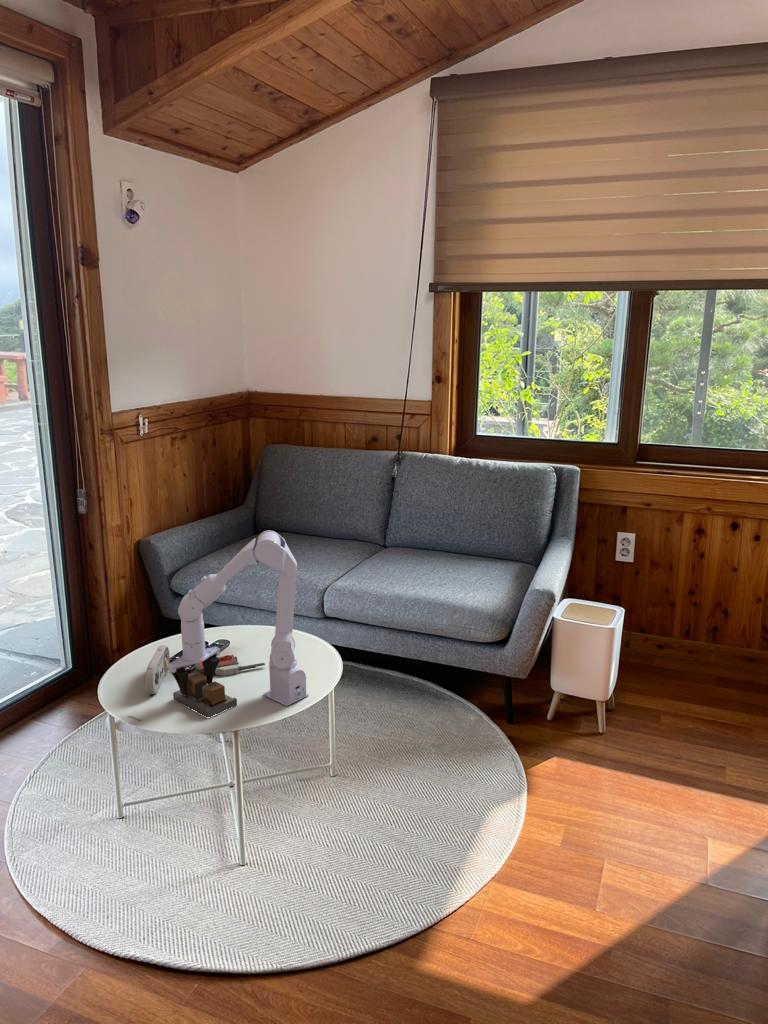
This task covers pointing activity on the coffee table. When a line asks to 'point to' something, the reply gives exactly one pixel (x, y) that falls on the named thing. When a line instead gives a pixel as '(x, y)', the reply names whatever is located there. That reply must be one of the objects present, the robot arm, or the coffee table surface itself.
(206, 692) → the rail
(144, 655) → the coffee table surface
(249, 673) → the coffee table surface
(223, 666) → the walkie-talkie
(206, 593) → the robot arm
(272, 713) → the coffee table surface
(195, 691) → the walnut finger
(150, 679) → the game controller
